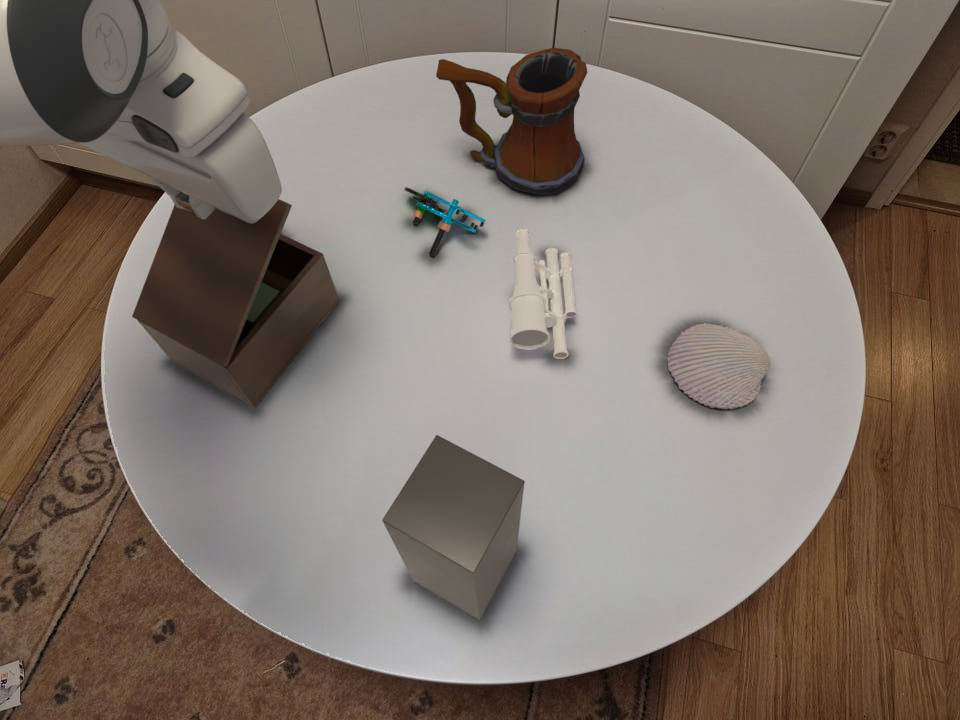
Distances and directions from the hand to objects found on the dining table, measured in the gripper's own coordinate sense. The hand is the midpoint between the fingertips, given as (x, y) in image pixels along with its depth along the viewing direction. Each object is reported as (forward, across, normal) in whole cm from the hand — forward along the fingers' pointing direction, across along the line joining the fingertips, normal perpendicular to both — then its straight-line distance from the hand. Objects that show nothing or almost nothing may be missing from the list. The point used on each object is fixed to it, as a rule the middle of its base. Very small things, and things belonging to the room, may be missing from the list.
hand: (197, 208), depth 59 cm
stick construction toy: (+19, +10, +21) cm, 30 cm away
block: (+18, 0, 0) cm, 19 cm away
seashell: (+19, +46, +19) cm, 54 cm away
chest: (+19, 0, -1) cm, 19 cm away
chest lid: (+6, 0, -1) cm, 6 cm away
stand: (+19, +33, -12) cm, 40 cm away
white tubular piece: (+19, +26, +17) cm, 37 cm away
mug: (+19, +13, +35) cm, 42 cm away
